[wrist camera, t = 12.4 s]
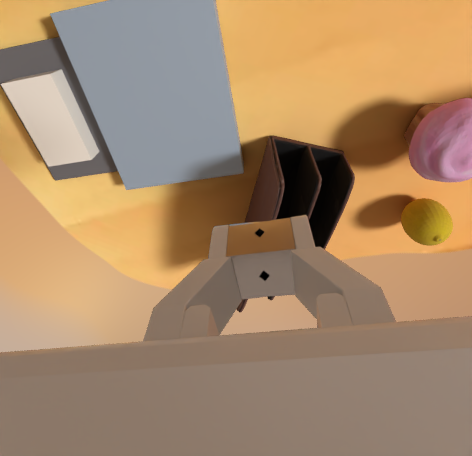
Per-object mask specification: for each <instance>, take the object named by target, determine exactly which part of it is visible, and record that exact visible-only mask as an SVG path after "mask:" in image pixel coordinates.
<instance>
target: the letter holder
mask: <svg viewBox="0 0 472 456" xmlns="http://www.w3.org/2000/svg"><path fill="white" fill-rule="evenodd" d="M354 179H355V176H354V173H353V171H352V169H351V167H350V165H349V163H348V161H347V159H346V157H345V155H344V152H343V151H341V150H336V149H331V148H327V147H322V146H318V145H313V144H309V143H304V142H300V141H296V140H291V139H287V138H282V137H277V136H269V138H268V141H267V145H266V149H265V153H264V156H263V160H262V164H261V167H260V171H259V174H258V178H257V181H256V185H255V188H254V192H253V195H252V199H251V202H250V206H249V209H248V213H247V216H246V220H245V223H249V222H259V221H260V222H262V221H269V220H277V219H284V218H290V217H295V216H302V215H306V216H307V217H308V221H309V225H310V229H311V232H312V236H313V240H314V244H315V247H321V248H323V249H324V250H325V248H326V246H327V244H328V242H329V240H330V238H331V236H332V234H333V232H334V230H335V228H336V226H337V223H338V221H339V219H340V217H341V215H342V213H343V210H344V208H345V206H346V203H347V201H348V199H349V196H350V193H351V191H352V188H353V185H354ZM274 297H275V296H268V299H270V300H273V298H274ZM247 300H248V299H242V300H241V303H240V304H239V306H238V307H237V311H239V312H242V311H243V309H244V307H245V305H246V302H247Z"/></svg>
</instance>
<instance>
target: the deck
mask: <svg viewBox="0 0 472 456" xmlns="http://www.w3.org/2000/svg"><path fill="white" fill-rule="evenodd" d="M50 15H51V17H52V20H53V22H54V24H55V27H56V29H57V31H58V33H59V36H60V38H61V40H62V43H63V45H64V47H65V50H66V52H67V54H68V57H69V59H70V61H71V63H72V66H73V68H74V70H75V73H76V75H77V77H78V80H79V82H80V84H81V86H82V89H83V91H84V93H85V96H86V98H87V100H88V103H89V105H90V107H91V110H92V112H93V114H94V116H95V119H96V121H97V123H98V126H99V128H100V130H101V133H102V135H103V137H104V139H105V142H106V144H107V146H108V149H109V151H110V153H111V156H112V158H113V160H114V163H115V165H116V167H117V169H118V172H119V174H120V176H121V179H122V181H123V183H124V186H125V188H126V190H130V189H137V188H144V187H151V186H158V185H165V184H172V183H179V182H186V181H193V180H200V179H207V178H214V177H221V176H229V175H236V174H243V173H244V162H243V156H242V150H241V145H240V139H239V133H238V127H237V122H236V116H235V110H234V104H233V98H232V93H231V87H230V81H229V75H228V70H227V64H226V58H225V52H224V46H223V41H222V35H221V29H220V23H219V18H218V12H217V6H216V0H109V1H104V2H100V3H95V4H91V5H86V6H82V7H78V8H73V9H69V10H64V11H60V12H56V13H51V14H50Z"/></svg>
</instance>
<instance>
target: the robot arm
mask: <svg viewBox="0 0 472 456" xmlns="http://www.w3.org/2000/svg"><path fill="white" fill-rule="evenodd" d="M282 295H295V296H296V297H297V298H298V299H299V300H300V302H301V303H302V304H303V305H304V306H305V307H306V308H307V309H308V310H309V311H310V312H311V314H312V315H313V316H314V317H315V318H316V319H317V328H310V329H298V330H285V331H271V332H259V333H246V334H233V335H222V336H219V335H220V334H221V332H222V330H223V329H224V327H225V326H226V324H227V323H228V321H229V319H230V318H231V317H232V315H233V313H234V312H235V310H236V309H237V307H238V306H239V304H240V303H241V300H242V299H249V298H259V297H266V296H282ZM0 456H472V316H467V317H466V316H465V317H453V318H442V319H428V320H415V321H404V322H396V320H395V318H394V316H393V314H392V312H391V309H390V307H389V305H388V303H387V300H386V298H385V296H384V293H383V291H382V289H381V287H379V286H378V285H376V284H374V283H373V282H372V281H370V280H369V279H367V278H366V277H364V276H363V275H361V274H360V273H358V272H357V271H355V270H354V269H352V268H351V267H349V266H348V265H347V264H345V263H344V262H342V261H341V260H339V259H338V258H336V257H335V256H333V255H332V254H330V253H329V252H327V251H326V250H324V249H323V248H321V247H315V244H314V240H313V236H312V232H311V229H310V225H309V221H308V217H307V216H306V215H302V216H295V217H290V218H284V219H277V220H269V221H262V222H260V221H259V222H249V223H239V224H230V225H221V226H214V228H213V230H212V236H211V243H210V249H209V255H208V259H204V260H203V261H202V262H200V263H199V264H198V265H197V266H196V267H195V268H194V269H193V270H192V271H191V272H190V273H189V274H188V275H187V276H186V277H185V278H184V279H183V280H182V281H181V282H180V283H179V284H178V285H177V286H176V287H175V288H174V289H173V290H172V291H171V292H169V293H168V295H166V296H165V297H164V298H163V299H162V300H161V301H160V302H159V303H158V304H157V305H156V306H155V307H154V308H153V311H152V314H151V317H150V321H149V324H148V327H147V331H146V334H145V337H144V340H143V342H131V343H117V344H105V345H92V346H78V347H66V348H54V349H40V350H27V351H14V352H1V353H0Z"/></svg>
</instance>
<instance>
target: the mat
mask: <svg viewBox="0 0 472 456" xmlns="http://www.w3.org/2000/svg"><path fill="white" fill-rule="evenodd" d="M60 69H62V71H63V73H64V76H65V78H66V80H67V82H68V84H69V86H70V89H71V91H72V93H73V95H74V97H75V100H76V102H77V104H78V106H79V108H80V110H81V113H82V115H83V117H84V119H85V121H86V124H87V126H88V128H89V130H90V132H91V135H92V137H93V139H94V141H95V143H96V145H97V148H98V150H99V153H98V154H97V155H96V156H95V157H94V158H93V159H92V160H87V161H81V162H75V163H69V164H63V165H56V166H50V167H48V165H47V164H46V162H45V160H44V158H43V157H42V155H41V153H40V151H39V150H38V148H37V146H36V144H35V143H34V141H33V139H32V137H31V136H30V134H29V132H28V131H27V132H28V134H29V136H30V137H31V139H32V141H33V143H34V144H35V146H36V148H37V150H38V151H39V153H40V155H41V157H42V158H43V160H44V162H45V164H46V165H47V167H48V169H49V171H50V172H51V174H52V176H53V177H54V179H55V180H62V179H68V178H75V177H82V176H88V175H95V174H102V173H108V172H115V171H118V169H117V167H116V165H115V163H114V160H113V158H112V156H111V153H110V151H109V149H108V146H107V144H106V142H105V139H104V137H103V135H102V133H101V130H100V128H99V126H98V123H97V121H96V119H95V116H94V114H93V112H92V110H91V107H90V105H89V103H88V100H87V98H86V96H85V93H84V91H83V89H82V86H81V84H80V82H79V80H78V77H77V75H76V73H75V70H74V68H73V66H72V63H71V61H70V59H69V57H68V54H67V52H66V50H65V47H64V45H63V43H62V40H61V38H60V37H57V38H52V39H47V40H43V41H38V42H33V43H29V44H24V45H20V46H15V47H10V48H6V49H1V50H0V85H1V84H2V83H5V82H7V81H10V80H13V79H16V78H21V77H26V76H31V75H36V74H41V73H45V72H50V71H55V70H60ZM1 87H2V85H1ZM2 89H3V87H2ZM3 90H4V89H3ZM4 92H5V91H4ZM5 94H6V92H5ZM6 96H7V94H6ZM7 97H8V96H7ZM8 99H9V98H8ZM9 101H10V99H9ZM10 103H11V101H10ZM11 104H12V103H11ZM12 106H13V105H12ZM13 108H14V106H13ZM14 110H15V108H14ZM15 111H16V110H15ZM16 113H17V111H16ZM17 115H18V113H17ZM18 117H19V115H18ZM19 118H20V117H19ZM20 120H21V118H20ZM21 122H22V120H21ZM22 124H23V122H22ZM23 125H24V124H23ZM24 127H25V125H24ZM25 129H26V127H25ZM26 130H27V129H26Z"/></svg>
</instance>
